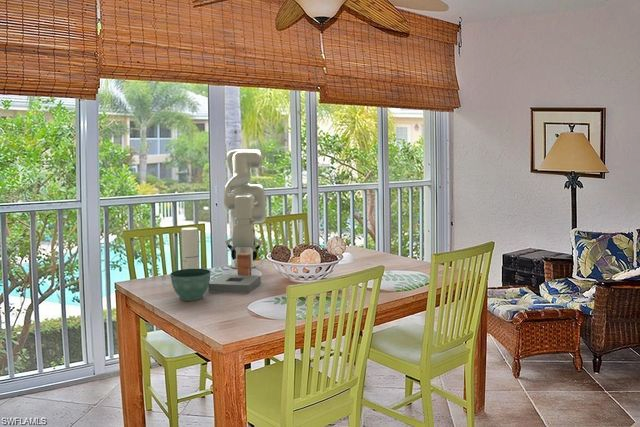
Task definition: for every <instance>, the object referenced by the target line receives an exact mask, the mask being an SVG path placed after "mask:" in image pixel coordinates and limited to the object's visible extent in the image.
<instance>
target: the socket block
mask: <svg viewBox="0 0 640 427" xmlns="http://www.w3.org/2000/svg"><path fill="white" fill-rule="evenodd" d="M261 280H262V279H261V275H256V274H254V275H253V274H251V275H238V274H231V273H230V274H227V273H226V274H224V273H221V275H219V276H217V277H216V278H214V279H213V280H211V281H210V282H209V286H208V288H207V290H208V292H209V293H231V294H234V293H235V294H250V293H252V291H253V290H255V289H256V288H257V287H258V286H259V285H260V284H262V282H261Z"/></svg>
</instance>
